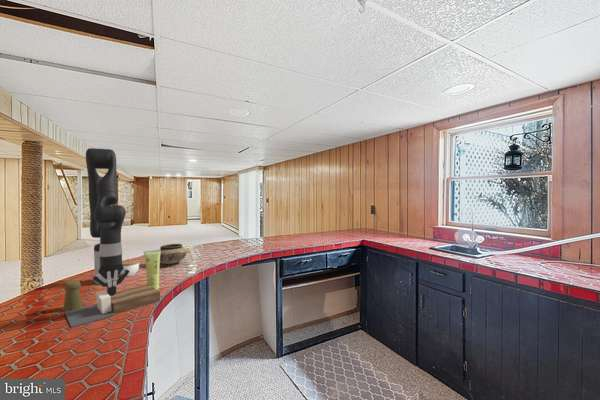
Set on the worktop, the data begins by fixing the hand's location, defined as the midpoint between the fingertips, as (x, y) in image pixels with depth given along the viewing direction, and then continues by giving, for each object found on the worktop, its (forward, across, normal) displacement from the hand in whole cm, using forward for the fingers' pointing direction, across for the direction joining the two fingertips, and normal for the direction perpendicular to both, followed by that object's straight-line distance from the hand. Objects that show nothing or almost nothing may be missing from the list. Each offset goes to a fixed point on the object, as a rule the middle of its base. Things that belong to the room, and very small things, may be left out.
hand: (111, 295), depth 109 cm
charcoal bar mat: (+6, +7, 0) cm, 9 cm away
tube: (+6, -19, -11) cm, 23 cm away
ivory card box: (+2, +1, 0) cm, 2 cm away
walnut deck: (+6, -8, 0) cm, 9 cm away
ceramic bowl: (+6, -44, -51) cm, 67 cm away
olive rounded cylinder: (+6, +11, -12) cm, 17 cm away
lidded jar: (+6, -18, -47) cm, 50 cm away
